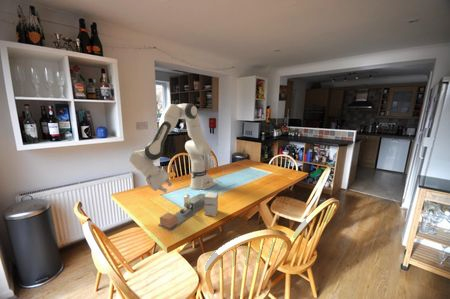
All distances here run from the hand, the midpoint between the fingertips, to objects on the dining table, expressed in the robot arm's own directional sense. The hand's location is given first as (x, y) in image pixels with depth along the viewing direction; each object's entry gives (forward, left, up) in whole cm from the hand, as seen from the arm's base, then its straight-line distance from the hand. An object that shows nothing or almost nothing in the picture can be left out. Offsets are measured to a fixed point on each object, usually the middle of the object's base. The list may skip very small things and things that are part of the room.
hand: (168, 188), depth 123 cm
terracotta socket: (+7, +13, -16) cm, 21 cm away
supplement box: (-20, +17, -17) cm, 31 cm away
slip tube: (-13, +6, -15) cm, 21 cm away
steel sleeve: (-18, +4, -16) cm, 24 cm away
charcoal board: (-8, +8, -16) cm, 20 cm away
